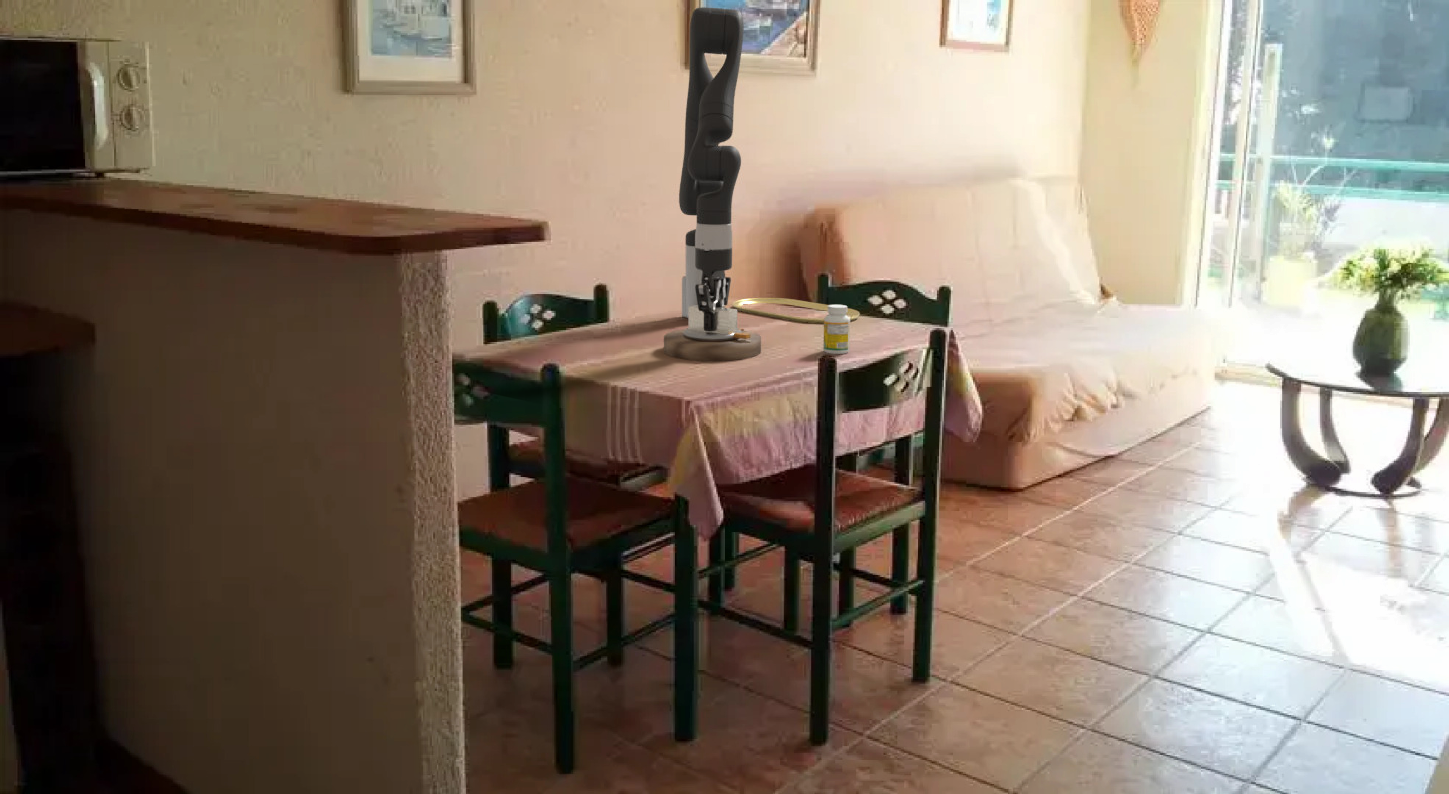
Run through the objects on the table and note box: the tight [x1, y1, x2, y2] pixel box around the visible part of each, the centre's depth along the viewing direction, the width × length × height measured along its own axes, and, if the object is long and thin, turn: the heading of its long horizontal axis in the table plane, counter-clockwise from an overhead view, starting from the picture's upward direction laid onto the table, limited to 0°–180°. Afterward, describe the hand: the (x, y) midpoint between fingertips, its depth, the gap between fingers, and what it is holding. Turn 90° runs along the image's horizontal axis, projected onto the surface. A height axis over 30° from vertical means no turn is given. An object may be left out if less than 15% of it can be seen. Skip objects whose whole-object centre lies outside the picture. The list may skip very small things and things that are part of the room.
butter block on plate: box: [683, 305, 750, 341], centre depth 264 cm, size 15×12×6 cm
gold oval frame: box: [732, 297, 860, 324], centre depth 313 cm, size 19×35×2 cm, turn 45°
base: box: [663, 328, 762, 362], centre depth 266 cm, size 20×20×3 cm
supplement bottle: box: [822, 304, 851, 355], centre depth 265 cm, size 5×5×10 cm
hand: (713, 328), depth 265 cm, fingers closed on butter block on plate, 3 cm apart
